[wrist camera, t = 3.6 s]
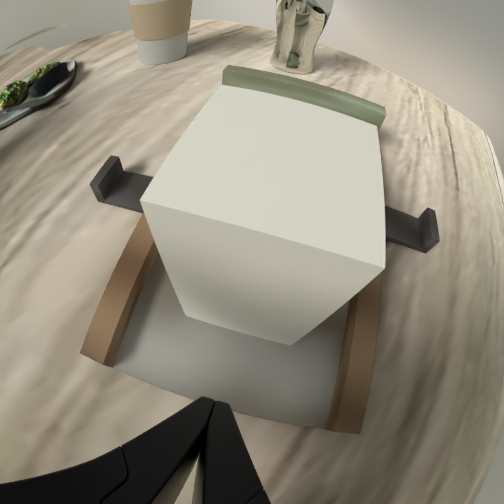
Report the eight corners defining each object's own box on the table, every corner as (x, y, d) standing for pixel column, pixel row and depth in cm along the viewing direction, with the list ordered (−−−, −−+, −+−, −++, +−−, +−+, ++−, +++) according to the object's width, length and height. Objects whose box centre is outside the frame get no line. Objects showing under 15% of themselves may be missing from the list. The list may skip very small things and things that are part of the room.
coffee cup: (206, 53, 33) (210, -37, 20) (156, 72, 29) (150, -30, 16) (169, 43, 35) (168, -34, 22) (122, 61, 31) (113, -24, 18)
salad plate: (-35, 162, 21) (-49, 140, 17) (-8, 104, 28) (-15, 86, 24) (73, 101, 26) (64, 73, 22) (79, 61, 33) (75, 40, 29)
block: (291, 345, 15) (385, 268, 6) (185, 315, 15) (139, 200, 6) (309, 253, 18) (376, 126, 9) (218, 227, 18) (221, 84, 9)
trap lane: (414, 433, 13) (461, 434, 9) (35, 324, 14) (-7, 300, 10) (411, 159, 25) (431, 128, 21) (179, 96, 26) (177, 60, 22)
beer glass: (284, 77, 30) (305, -27, 17) (257, 58, 33) (270, -34, 20) (325, 74, 32) (350, -17, 19) (297, 55, 35) (314, -27, 22)
